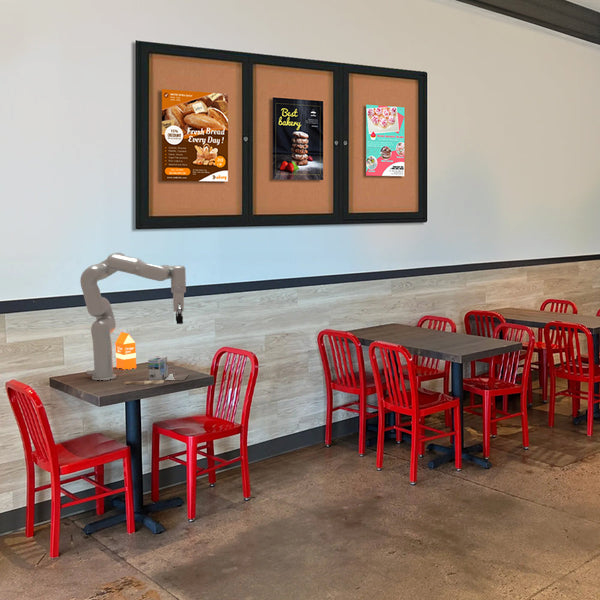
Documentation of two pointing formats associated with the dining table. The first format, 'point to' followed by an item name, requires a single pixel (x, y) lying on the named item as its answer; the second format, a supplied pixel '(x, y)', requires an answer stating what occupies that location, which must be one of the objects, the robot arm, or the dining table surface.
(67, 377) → the dining table surface
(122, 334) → the orange juice
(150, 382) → the beech turner
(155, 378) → the light bulb box
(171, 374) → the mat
